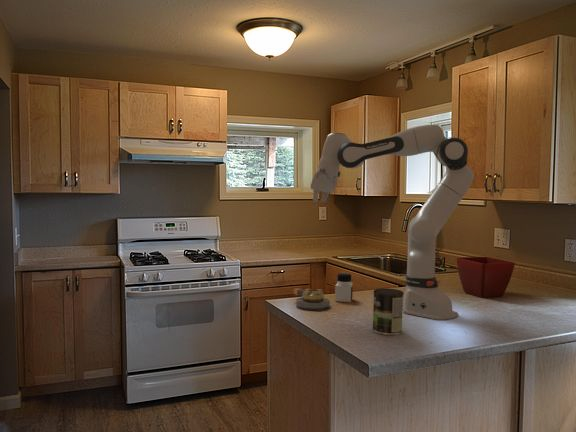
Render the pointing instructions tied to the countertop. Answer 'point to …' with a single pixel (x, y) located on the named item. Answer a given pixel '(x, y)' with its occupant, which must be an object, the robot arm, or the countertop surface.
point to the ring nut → (310, 294)
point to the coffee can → (387, 311)
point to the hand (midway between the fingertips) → (318, 201)
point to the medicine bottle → (343, 288)
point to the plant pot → (484, 275)
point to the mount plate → (312, 304)
